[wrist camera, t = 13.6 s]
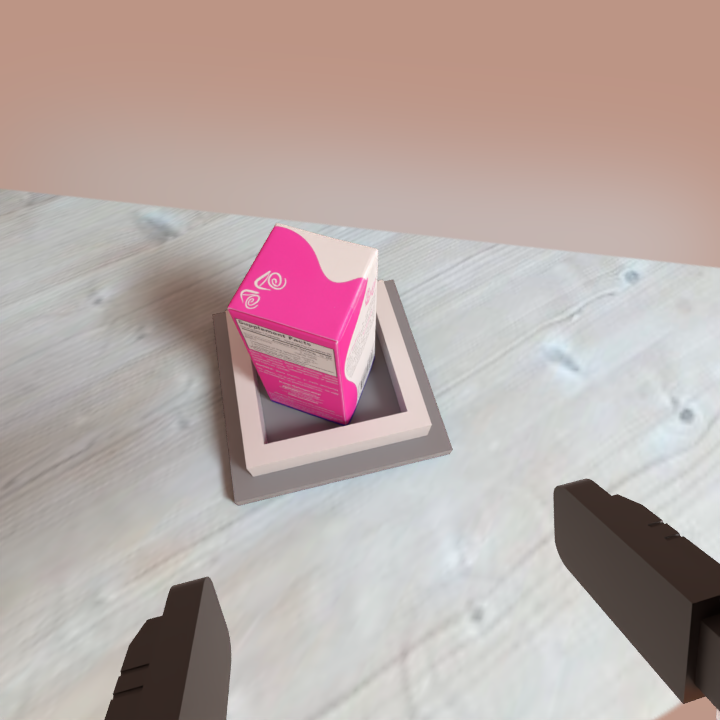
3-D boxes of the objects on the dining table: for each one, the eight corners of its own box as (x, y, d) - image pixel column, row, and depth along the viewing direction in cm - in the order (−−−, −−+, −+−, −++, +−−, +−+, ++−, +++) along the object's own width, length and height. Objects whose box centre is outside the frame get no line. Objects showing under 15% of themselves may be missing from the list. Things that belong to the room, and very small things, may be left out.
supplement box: (299, 332, 34) (276, 216, 23) (376, 357, 33) (386, 248, 23) (266, 402, 31) (223, 305, 21) (348, 430, 30) (345, 344, 20)
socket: (238, 505, 29) (226, 496, 26) (216, 321, 35) (204, 298, 32) (449, 453, 31) (458, 439, 28) (392, 287, 37) (395, 262, 34)
